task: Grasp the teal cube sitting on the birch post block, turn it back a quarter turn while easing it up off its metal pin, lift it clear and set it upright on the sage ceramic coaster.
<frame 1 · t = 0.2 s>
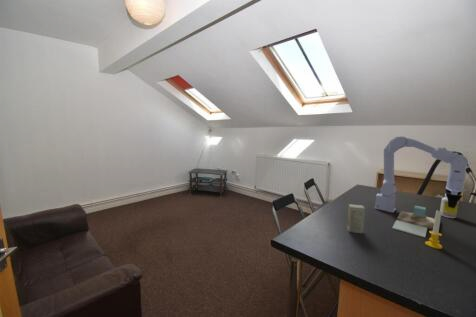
hand: (451, 205, 104), 10 cm above the table, tool pointing down, fingers open, 7 cm apart
supplement bottle: (447, 216, 116), on the table
coaster: (409, 228, 100), on the table
candle: (433, 245, 85), on the table
teal cube: (418, 215, 108), point 3 cm above the table, touching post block
skincare box: (354, 231, 97), on the table
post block: (418, 220, 109), on the table
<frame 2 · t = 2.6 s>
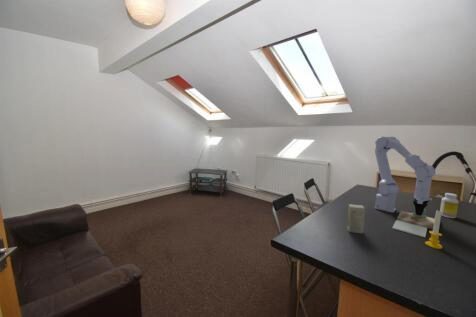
hand: (419, 213, 108), 4 cm above the table, tool pointing down, fingers closed on teal cube, 4 cm apart
teal cube: (418, 215, 108), point 3 cm above the table, touching gripper, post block
everything else where it was.
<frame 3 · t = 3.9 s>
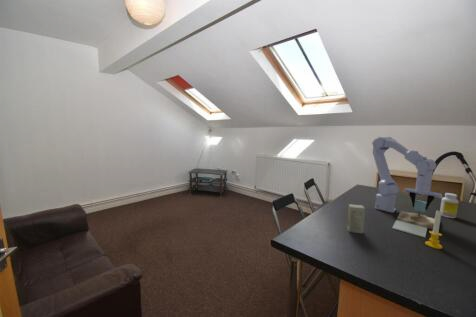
hand: (419, 208, 108), 7 cm above the table, tool pointing down, fingers closed on teal cube, 4 cm apart
teal cube: (419, 209, 108), point 6 cm above the table, touching gripper
everything else where it was.
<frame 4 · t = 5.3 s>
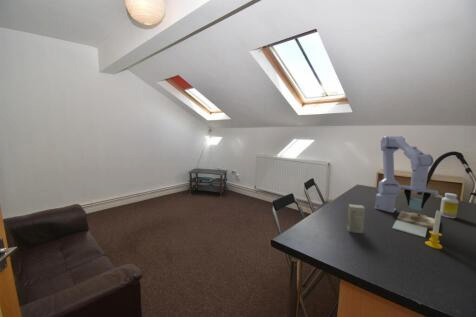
hand: (415, 206, 101), 10 cm above the table, tool pointing down, fingers closed on teal cube, 4 cm apart
teal cube: (415, 208, 101), point 9 cm above the table, touching gripper
everything else where it was.
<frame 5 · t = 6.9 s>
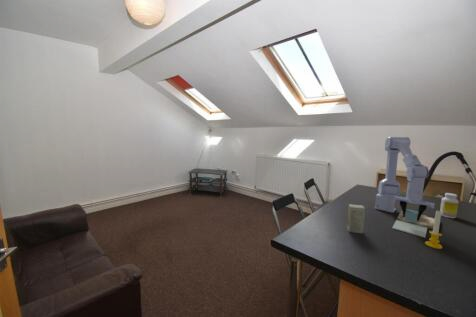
hand: (411, 218, 99), 5 cm above the table, tool pointing down, fingers closed on teal cube, 4 cm apart
teal cube: (410, 220, 99), point 4 cm above the table, touching gripper
everything else where it was.
when the fingers open (3 cm above the table, at t = 8.4 s): teal cube drops 1 cm, resting on coaster.
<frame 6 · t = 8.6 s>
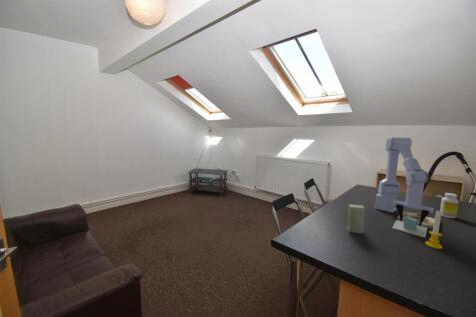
hand: (410, 222, 99), 3 cm above the table, tool pointing down, fingers open, 6 cm apart
teal cube: (409, 227, 100), point 1 cm above the table, touching coaster
everything else where it was.
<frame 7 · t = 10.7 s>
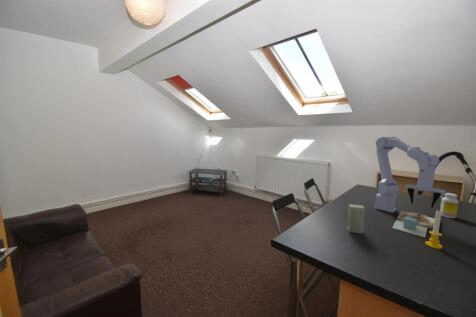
hand: (421, 205, 104), 10 cm above the table, tool pointing down, fingers open, 7 cm apart
nothing on the table moved.
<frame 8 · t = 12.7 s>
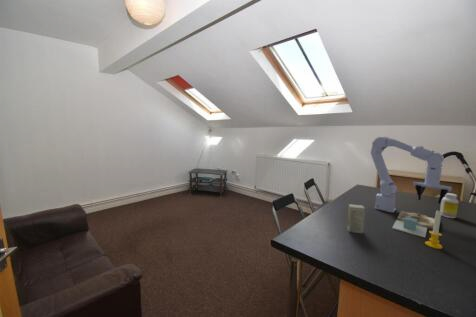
hand: (429, 201, 109), 10 cm above the table, tool pointing down, fingers open, 7 cm apart
nothing on the table moved.
at the end: teal cube inside the target area (0.1 cm from its centre), point 0.6 cm above the table; teal cube tilted 0°; the gripper is holding nothing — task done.
